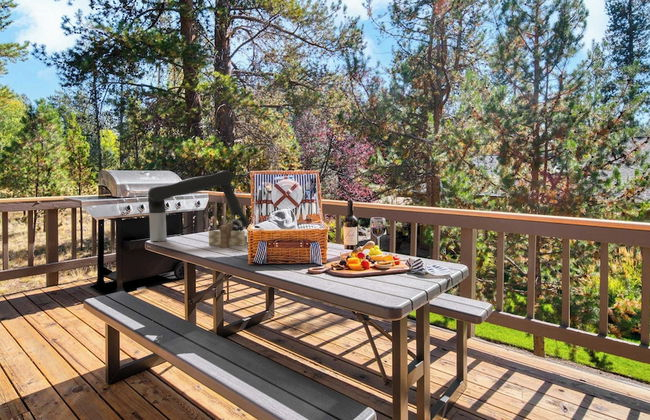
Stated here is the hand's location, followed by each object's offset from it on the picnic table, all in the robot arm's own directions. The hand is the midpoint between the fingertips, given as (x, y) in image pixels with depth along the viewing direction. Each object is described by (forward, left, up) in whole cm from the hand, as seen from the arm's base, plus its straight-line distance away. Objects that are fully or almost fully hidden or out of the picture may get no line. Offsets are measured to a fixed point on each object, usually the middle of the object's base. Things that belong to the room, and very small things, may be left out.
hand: (228, 230), depth 245 cm
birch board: (+4, -2, -8) cm, 9 cm away
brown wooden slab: (+3, -2, -8) cm, 9 cm away
